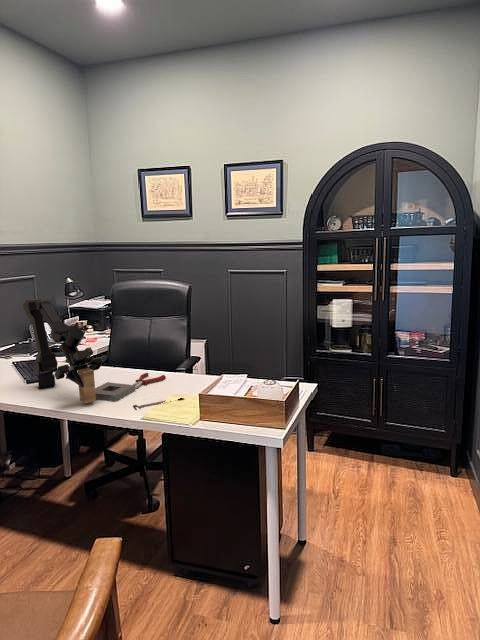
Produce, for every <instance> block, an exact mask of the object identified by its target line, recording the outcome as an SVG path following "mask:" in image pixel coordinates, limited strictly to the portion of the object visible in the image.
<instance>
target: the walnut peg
mask: <svg viewBox="0 0 480 640" xmlns="http://www.w3.org/2000/svg"><path fill="white" fill-rule="evenodd" d="M77 372H78V375H79V377H80V379H81V381H82V383H83V385H84V387H81V386H79V385H78V391H79V392H78V394H79V396H78V397H79V402H82V403H84V404H87V403H92V402H95V401H97V399H96V396H95V388H96V386H95V385H96V384H95V370H92V369H89V368H86V369H82V370H78V371H77Z"/></svg>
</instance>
